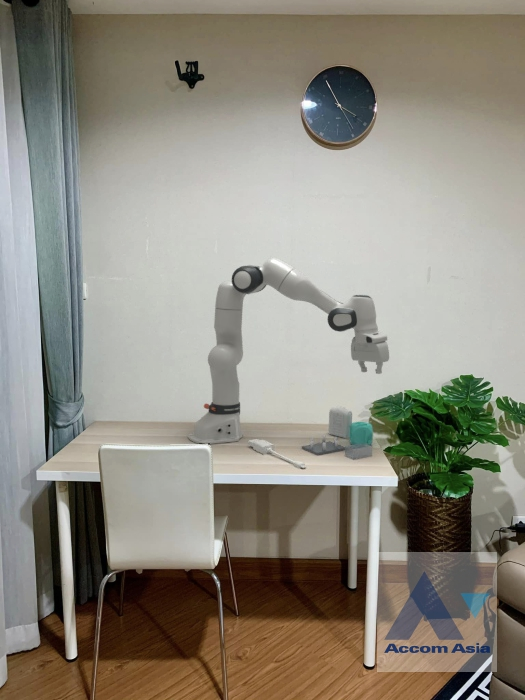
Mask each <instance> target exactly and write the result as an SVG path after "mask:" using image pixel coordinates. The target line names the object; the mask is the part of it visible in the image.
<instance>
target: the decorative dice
mask: <svg viewBox="0 0 525 700" xmlns="http://www.w3.org/2000/svg"><path fill="white" fill-rule="evenodd" d="M373 431H374V429H373V426H372V424H371V423H370V422H364V421H354V422H352V424H351V425H350V438H349V441H350V444H351V445H355V444H360V443H365V444H367V445H370V446H371V444H372V443H373V438H374V432H373Z"/></svg>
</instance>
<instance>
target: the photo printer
mask: <svg viewBox="0 0 525 700" xmlns="http://www.w3.org/2000/svg"><path fill="white" fill-rule="evenodd" d="M328 414H329V415H328V434H329V435H331V436H334V437H340V438H344V439H347V440H348V439H350V425H351V424H352V423H353V412H352V411H351V410H350V409H348V408H346V407H342V406H331V407H330V408H329V413H328Z"/></svg>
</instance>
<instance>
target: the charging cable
mask: <svg viewBox="0 0 525 700" xmlns="http://www.w3.org/2000/svg"><path fill="white" fill-rule="evenodd" d="M247 445H248V446H251V448H252V449H253V450H254V451H255V450H256V452H257V453H259V454H262V455H267V453H268V454H274V455H276V456H278V457H280V458H282V459H284V460H286V461H288V462H290V463H292V464H293V466H294V467H296V468H297V469H306V468H307V466H306V464H305V462H302V461H301V460H299V461H297V460H293V459H291V458H289V457H287V456H284V455H283V454H280V453H279V452H276V451H275V444H273V443H271V442H269V441H267V440H265V439H258V438H256V439H254V438H253V439H249V440H248V441H247Z"/></svg>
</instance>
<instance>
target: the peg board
mask: <svg viewBox="0 0 525 700" xmlns="http://www.w3.org/2000/svg"><path fill="white" fill-rule="evenodd" d="M321 438H322V439H321V440H322V441H321V442H318V443H315V441H314V437H310V438H309V439H310V442H309V443H310V444H308V445H307V444H306V445H302V446H301V449H302V450H303V451H306V452H308V453H311V454H312V455H316V456H322V455H327V454H332V453H333V454H334V453H336V452H345V446H344V445H341V444H339V440H338V436H334V439H333V441H330V440H329V441H326V435H322V437H321Z"/></svg>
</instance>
